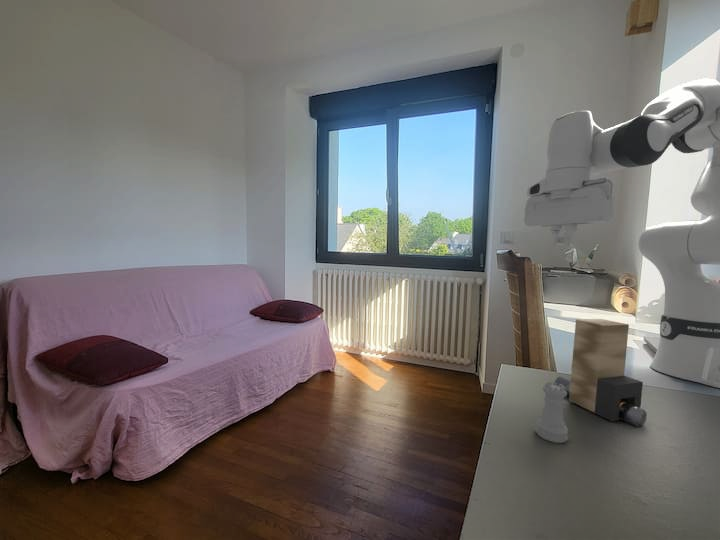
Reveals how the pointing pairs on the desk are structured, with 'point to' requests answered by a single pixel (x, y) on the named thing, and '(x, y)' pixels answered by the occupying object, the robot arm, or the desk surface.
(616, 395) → the black block
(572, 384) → the tall wooden block
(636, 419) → the grey metal rod
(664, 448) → the desk surface
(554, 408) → the rook chess piece
